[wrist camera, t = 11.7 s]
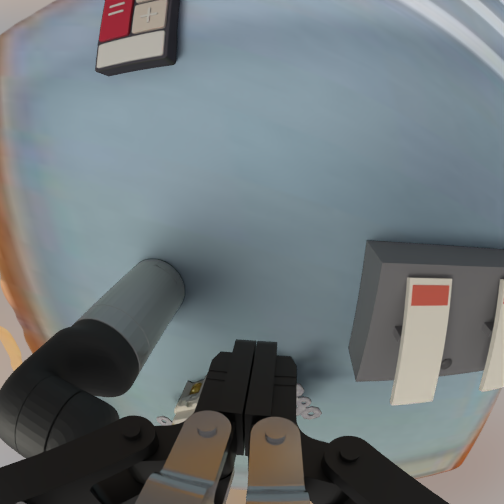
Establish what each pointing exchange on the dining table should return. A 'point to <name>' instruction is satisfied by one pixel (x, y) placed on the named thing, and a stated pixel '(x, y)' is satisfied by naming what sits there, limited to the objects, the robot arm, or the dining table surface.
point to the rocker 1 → (421, 340)
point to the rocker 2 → (495, 349)
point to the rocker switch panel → (393, 303)
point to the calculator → (137, 35)
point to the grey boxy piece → (192, 395)
